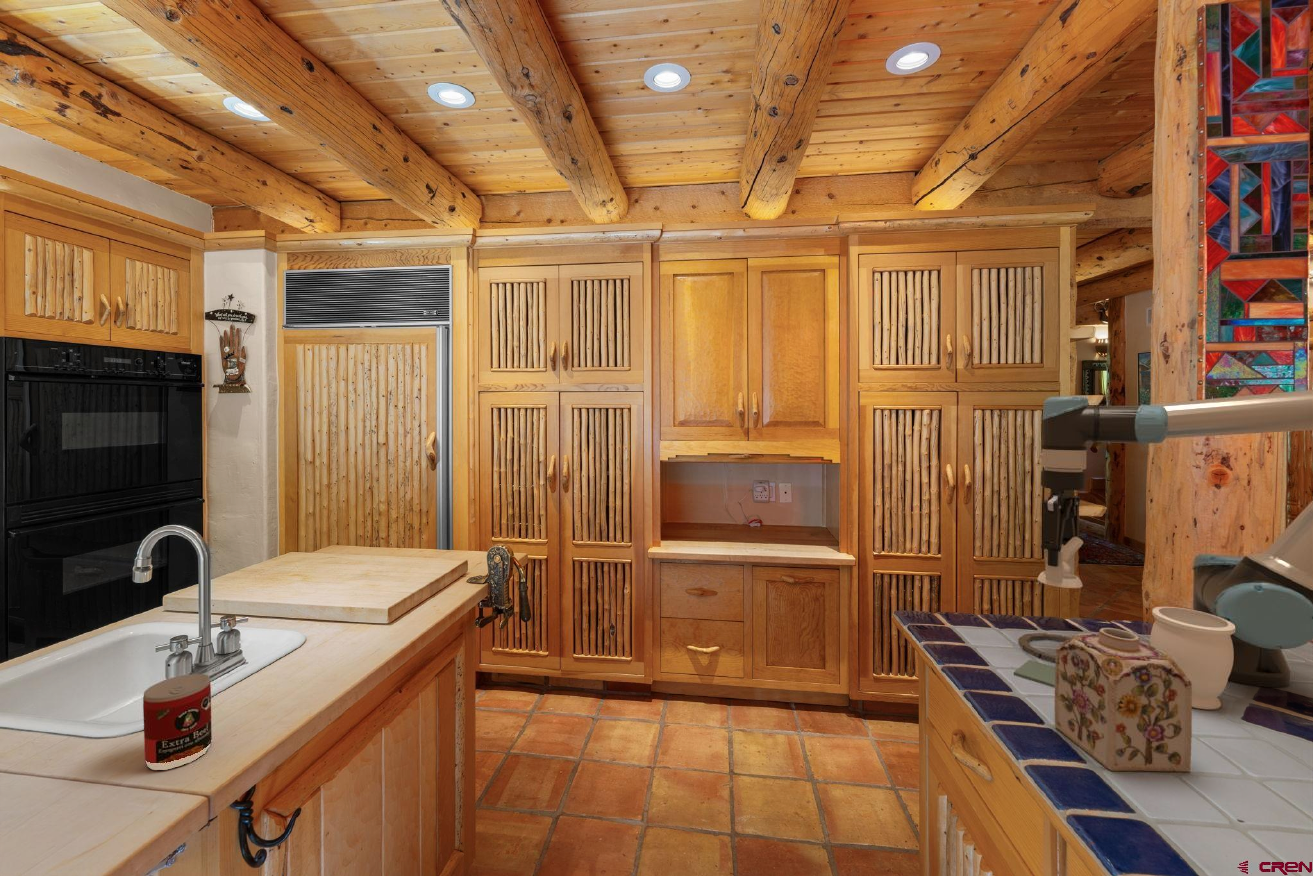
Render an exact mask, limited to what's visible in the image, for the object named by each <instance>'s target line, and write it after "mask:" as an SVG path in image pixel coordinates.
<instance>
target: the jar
mask: <svg viewBox="0 0 1313 876" xmlns="http://www.w3.org/2000/svg"><path fill="white" fill-rule="evenodd" d="M1151 611H1152V613H1151V614H1152V616H1153V618H1154V619H1155V620H1154V623H1153V625H1152V627H1151V630H1150V631H1151V632H1150V637H1149V645H1151V646H1153V647H1155V648H1157V649H1159V650H1161V651H1163V652H1165V653H1167V654H1169V655H1170V656H1171V658H1172V659H1173V660H1174V662H1175V663H1176V664H1177V665H1178V666H1179V668H1180V669H1181V670H1182V671H1183V672H1184V673H1185V675H1186V676H1187V677H1188V678H1189V680H1190V681H1191V683H1192V708H1195V709H1200V710H1217V709H1220V707H1221V705H1222V703H1221V701H1220V699H1219V697H1220V695H1222V693H1224V690H1225V689H1226V686H1227V684H1228V681H1229V680H1228V677H1229V675H1230V673H1231V670H1232V666H1233V659H1234V651H1233V643H1232V639H1231V637H1230V635H1232V634H1233V633H1235V625H1234V624H1232V623H1231V622H1229V621H1227V620H1225V619H1223V618H1220V617H1217V616H1214V615H1211V614H1208V613H1204V612H1200V611H1195V610H1193V609H1191V608H1190V609H1189V608H1184V607H1176V606H1155V607H1153V608H1152V609H1151Z"/></svg>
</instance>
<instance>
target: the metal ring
mask: <svg viewBox="0 0 1313 876" xmlns="http://www.w3.org/2000/svg"><path fill="white" fill-rule="evenodd" d="M1070 638H1072V637H1070V636H1066V635H1061V634H1053V633H1045V632H1037V633H1024V634H1023V635H1022V636H1020V637H1018V646H1020V648H1021V647H1022V648H1021V649H1022V650H1023V651H1024V652H1025V651H1026V652H1025V653H1028V654H1030V655H1031V656H1034V657H1036V658H1037V659H1041V660H1043V661H1047V662H1049V661H1050V663H1054V664H1056V655H1053V654H1050V653H1047V652H1043V651H1042V650H1039V649H1038V648H1036V647H1033V646H1032V645H1031V644H1030V643H1031V642H1032V640H1035V641H1051V642H1059V641H1060V643H1064V642H1066V641H1067V640H1069V639H1070ZM1030 641H1031V642H1030Z"/></svg>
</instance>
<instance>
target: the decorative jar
mask: <svg viewBox="0 0 1313 876" xmlns="http://www.w3.org/2000/svg"><path fill="white" fill-rule="evenodd" d="M1055 656H1056V663H1054V664H1055V665H1054V667H1055V687H1054V727H1055V729H1057V730H1058V731H1060V732H1061V733H1063V734H1064V735H1065V736H1066V737H1067V738H1068V739H1069V740H1071V741H1072V742H1073V743H1075V744H1076V745H1077V746H1078V747H1080V748H1081V750H1083V751H1085V752H1086V753H1087V754H1089V755H1090V756H1091V757H1093V758H1094V759H1095V760H1096V761H1097V762H1099V763H1100V764H1101V763H1102V765H1103V766H1104V767H1105V768H1106V769H1108V770H1109V771H1112V772H1116V771H1117V772H1118V771H1119V772H1122V771H1124V772H1133V771H1137V772H1138V771H1139V772H1140V771H1141V772H1180V773H1182V772H1185V773H1189V772H1190V771H1191V764H1192V758H1191V757H1192V737H1193V736H1192V734H1193V733H1192V732H1193V730H1192V727H1193V726H1192V725H1193V724H1192V719H1193V715H1192V714H1193V710H1192V708H1193V707H1192V683H1191V681H1190V680H1189V678H1188V677H1187V676H1186V675H1185V673H1184V672H1183V671H1182V670H1181V669H1180V668H1179V666H1178V665H1177V664H1176V663H1175V662H1174V660H1173V659H1172V658H1171V656H1170V655H1169V654H1167V653H1165V652H1163V651H1161V650H1159V649H1157V648H1155V647H1153V646H1151V645H1150V643H1147V642H1145V641H1144V642H1143V641H1141V640H1140V637H1139V636H1138V635H1137V634H1135V633H1133V632H1130V631H1127V630H1122V629H1119V628H1112V627H1102V628H1100V629H1099V631H1098V632H1089V633H1088V632H1086V633H1085V632H1084V633H1077V634H1075V635H1074V636H1072V637H1071V638H1070V639H1069V640H1067V641H1066V642H1062V643H1061V644H1060V645H1059V646H1058V647H1057V648H1056V649H1055Z"/></svg>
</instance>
